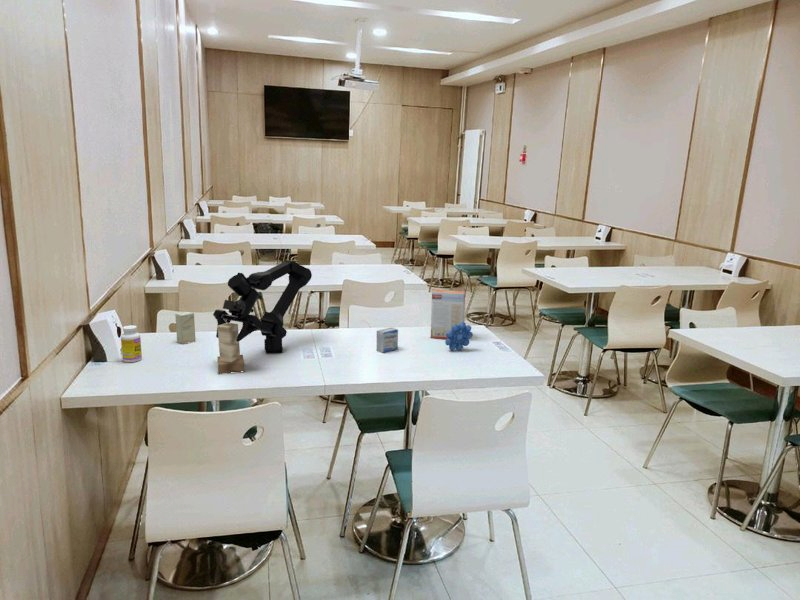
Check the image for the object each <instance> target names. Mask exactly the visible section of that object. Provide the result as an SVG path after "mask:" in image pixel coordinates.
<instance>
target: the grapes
mask: <svg viewBox="0 0 800 600" xmlns="http://www.w3.org/2000/svg"><path fill="white" fill-rule="evenodd" d="M451 329H452V331H448V332H447V334H446V336H447V338H448V339H445V342H444V344H445V345H446V346H448V348H449V350H450V351H455V350H456V351H462V350H463V348H464V347H467V346H469V344H470V340H471V339H472V338H473V336H474V333H473V331H472V326H471V325H470V324H466V322H465V321H464V322H462V323H460V324H459V326H458V325H456V324H455V325H453V326H452V328H451Z"/></svg>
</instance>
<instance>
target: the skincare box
mask: <svg viewBox="0 0 800 600" xmlns="http://www.w3.org/2000/svg"><path fill="white" fill-rule="evenodd" d="M174 317H175V329H176V331H175V332H176V342H177V343H178V344H181V345H185V344H188V342H190V343H193V342H192V341H194V342H196V341H195V340H196V325H195V312H191V311H185V312H184V311H183V312H179V313H175V315H174ZM184 343H185V344H184Z"/></svg>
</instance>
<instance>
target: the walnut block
mask: <svg viewBox="0 0 800 600" xmlns="http://www.w3.org/2000/svg"><path fill="white" fill-rule="evenodd" d="M243 355H244V354H240V359H238V360H236V361H233V362H225V361H220V355H219V356H217V370H218V371H217V373H218V375H223V374H222V373H227V374H232V373H231V372H239V373H242V372H241V371H245V359H244V356H243ZM220 373H221V374H220Z"/></svg>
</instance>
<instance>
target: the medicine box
mask: <svg viewBox="0 0 800 600" xmlns="http://www.w3.org/2000/svg"><path fill="white" fill-rule="evenodd" d="M398 342H399V329H398V328H396V327H395V328H394V327H388V328H383V329H379V330H376V351H377V352H380V353H381V354H385V353H389V352H393V351H396V350H399V348H398V344H399V343H398Z"/></svg>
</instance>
